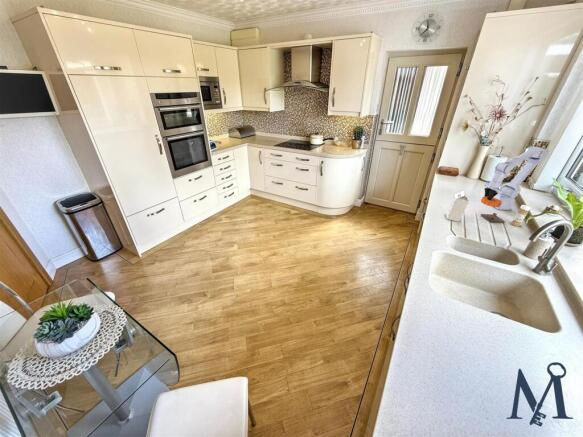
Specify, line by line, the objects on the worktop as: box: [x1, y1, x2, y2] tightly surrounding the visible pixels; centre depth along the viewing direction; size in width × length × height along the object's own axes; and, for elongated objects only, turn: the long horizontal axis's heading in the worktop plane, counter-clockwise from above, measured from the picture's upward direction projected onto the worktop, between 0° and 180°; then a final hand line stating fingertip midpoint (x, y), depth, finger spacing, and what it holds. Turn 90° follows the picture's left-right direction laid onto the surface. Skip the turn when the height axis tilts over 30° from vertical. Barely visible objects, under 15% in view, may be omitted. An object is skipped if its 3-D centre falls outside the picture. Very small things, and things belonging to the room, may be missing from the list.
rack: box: [480, 212, 506, 224], centre depth 154 cm, size 9×9×4 cm
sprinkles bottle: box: [510, 204, 532, 227], centre depth 147 cm, size 5×5×14 cm
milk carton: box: [445, 189, 470, 223], centre depth 149 cm, size 7×7×19 cm
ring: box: [480, 195, 502, 208], centre depth 159 cm, size 11×11×3 cm
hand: (487, 199), depth 163 cm, fingers closed on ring, 3 cm apart
